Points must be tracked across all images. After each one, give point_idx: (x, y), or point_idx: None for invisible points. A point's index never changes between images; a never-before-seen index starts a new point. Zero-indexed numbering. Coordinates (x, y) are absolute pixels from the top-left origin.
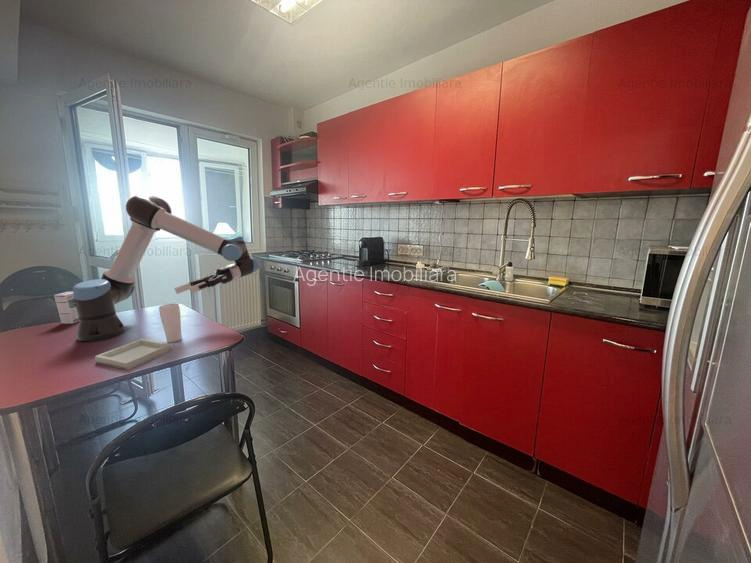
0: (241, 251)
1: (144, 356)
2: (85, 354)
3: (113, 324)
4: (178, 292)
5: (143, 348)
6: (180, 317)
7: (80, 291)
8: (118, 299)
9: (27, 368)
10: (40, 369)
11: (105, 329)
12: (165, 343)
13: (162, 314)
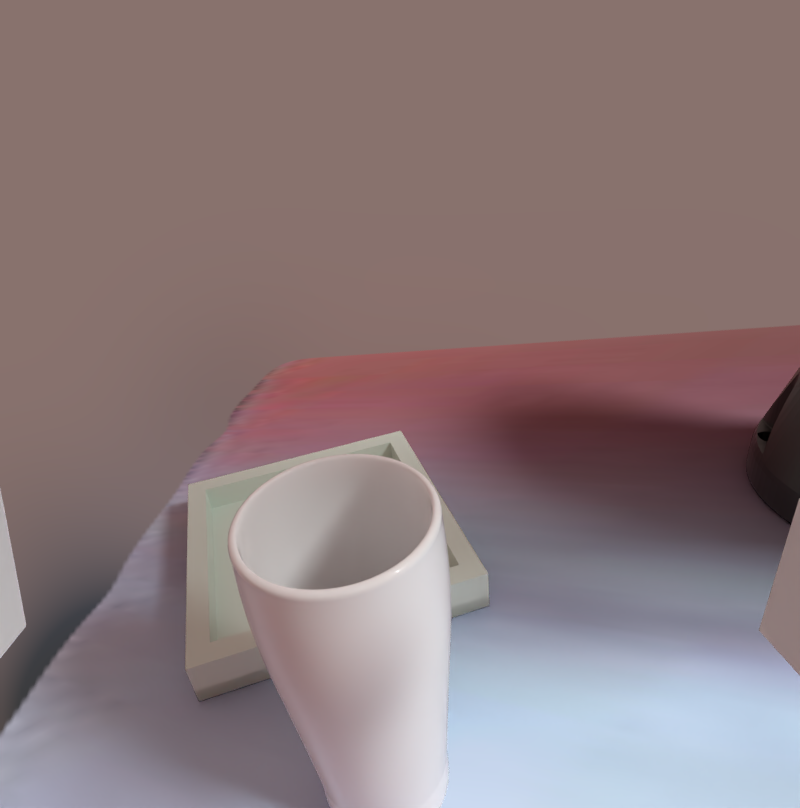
0: None
1: (188, 541)
2: (550, 440)
3: None
4: (785, 632)
5: None
6: (305, 714)
7: None
8: None
9: (539, 361)
10: (497, 376)
11: (785, 449)
12: (240, 645)
13: (318, 514)
